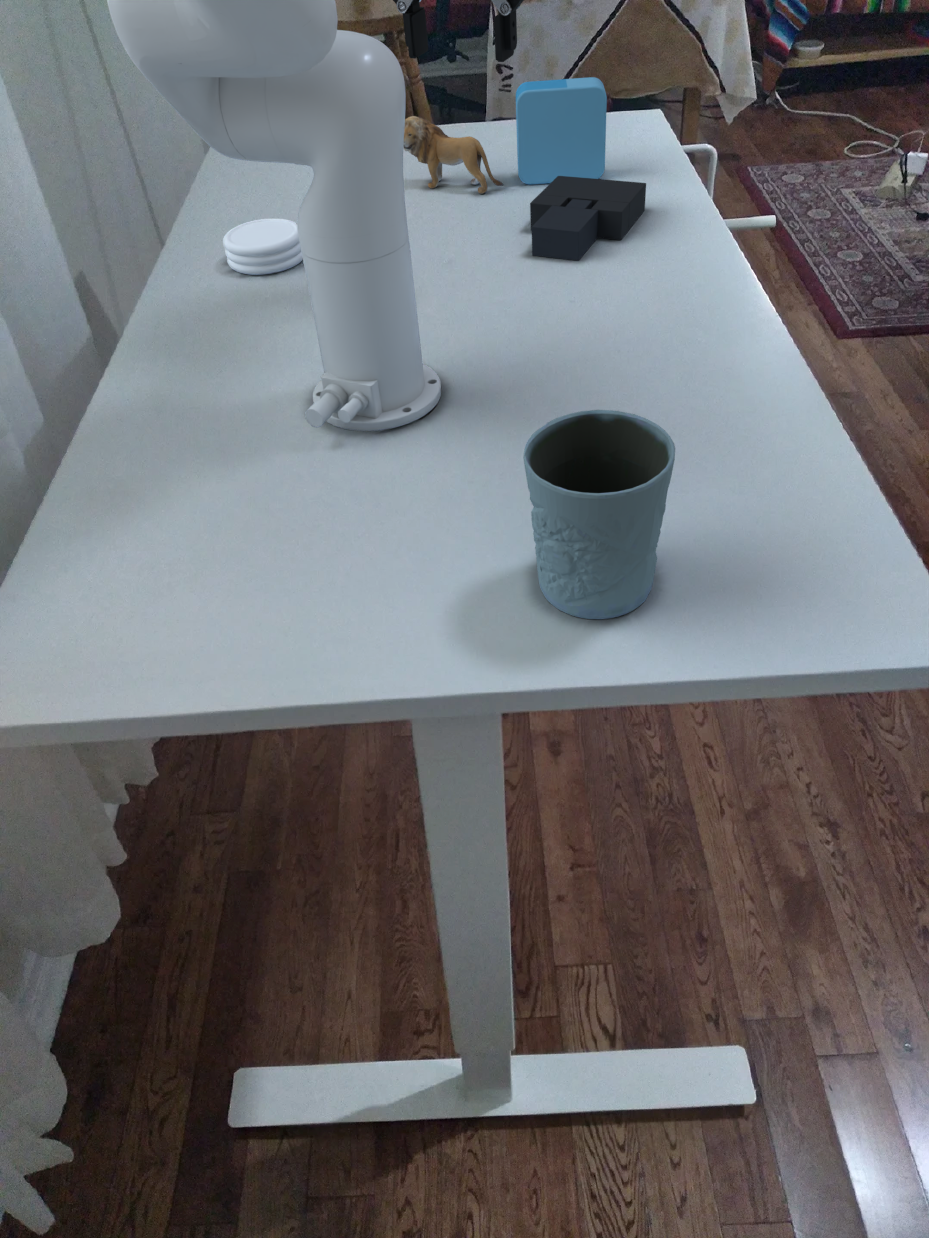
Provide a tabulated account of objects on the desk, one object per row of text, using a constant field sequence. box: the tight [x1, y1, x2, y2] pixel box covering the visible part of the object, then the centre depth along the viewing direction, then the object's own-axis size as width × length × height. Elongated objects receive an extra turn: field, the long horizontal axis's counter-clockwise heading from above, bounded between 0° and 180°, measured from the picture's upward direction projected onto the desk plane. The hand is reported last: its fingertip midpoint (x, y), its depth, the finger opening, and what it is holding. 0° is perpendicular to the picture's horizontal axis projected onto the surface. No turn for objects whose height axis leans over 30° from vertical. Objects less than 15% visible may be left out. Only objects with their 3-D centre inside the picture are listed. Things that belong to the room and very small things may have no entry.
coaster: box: [222, 217, 303, 276], centre depth 121 cm, size 10×10×4 cm
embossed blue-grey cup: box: [523, 409, 676, 620], centre depth 69 cm, size 10×10×12 cm
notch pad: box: [529, 176, 647, 241], centre depth 123 cm, size 10×12×4 cm
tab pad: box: [531, 199, 598, 261], centre depth 119 cm, size 10×6×4 cm, turn 155°
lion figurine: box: [403, 115, 504, 195], centre depth 134 cm, size 15×5×9 cm, turn 70°
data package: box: [515, 76, 608, 185], centre depth 133 cm, size 12×4×12 cm, turn 89°
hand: (461, 57), depth 98 cm, fingers open, 9 cm apart
